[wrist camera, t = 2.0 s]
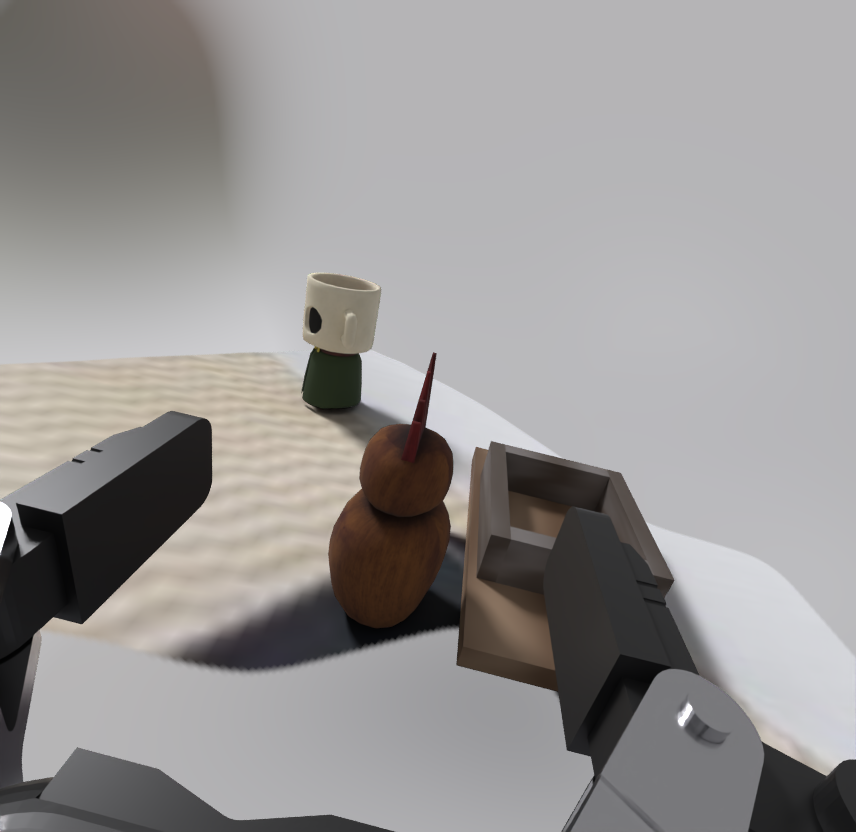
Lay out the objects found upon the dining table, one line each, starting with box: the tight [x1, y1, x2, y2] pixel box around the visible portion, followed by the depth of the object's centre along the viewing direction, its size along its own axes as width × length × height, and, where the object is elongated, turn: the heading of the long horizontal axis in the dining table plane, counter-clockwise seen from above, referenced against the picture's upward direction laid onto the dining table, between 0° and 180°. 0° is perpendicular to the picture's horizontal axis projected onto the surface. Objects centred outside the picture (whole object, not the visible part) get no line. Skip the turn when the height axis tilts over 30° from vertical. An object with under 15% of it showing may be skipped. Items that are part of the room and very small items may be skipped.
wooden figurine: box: [328, 353, 453, 628], centre depth 24 cm, size 7×6×15 cm
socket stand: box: [457, 441, 674, 692], centre depth 33 cm, size 12×22×5 cm, turn 172°
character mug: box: [301, 273, 381, 408], centre depth 46 cm, size 11×7×13 cm, turn 19°
